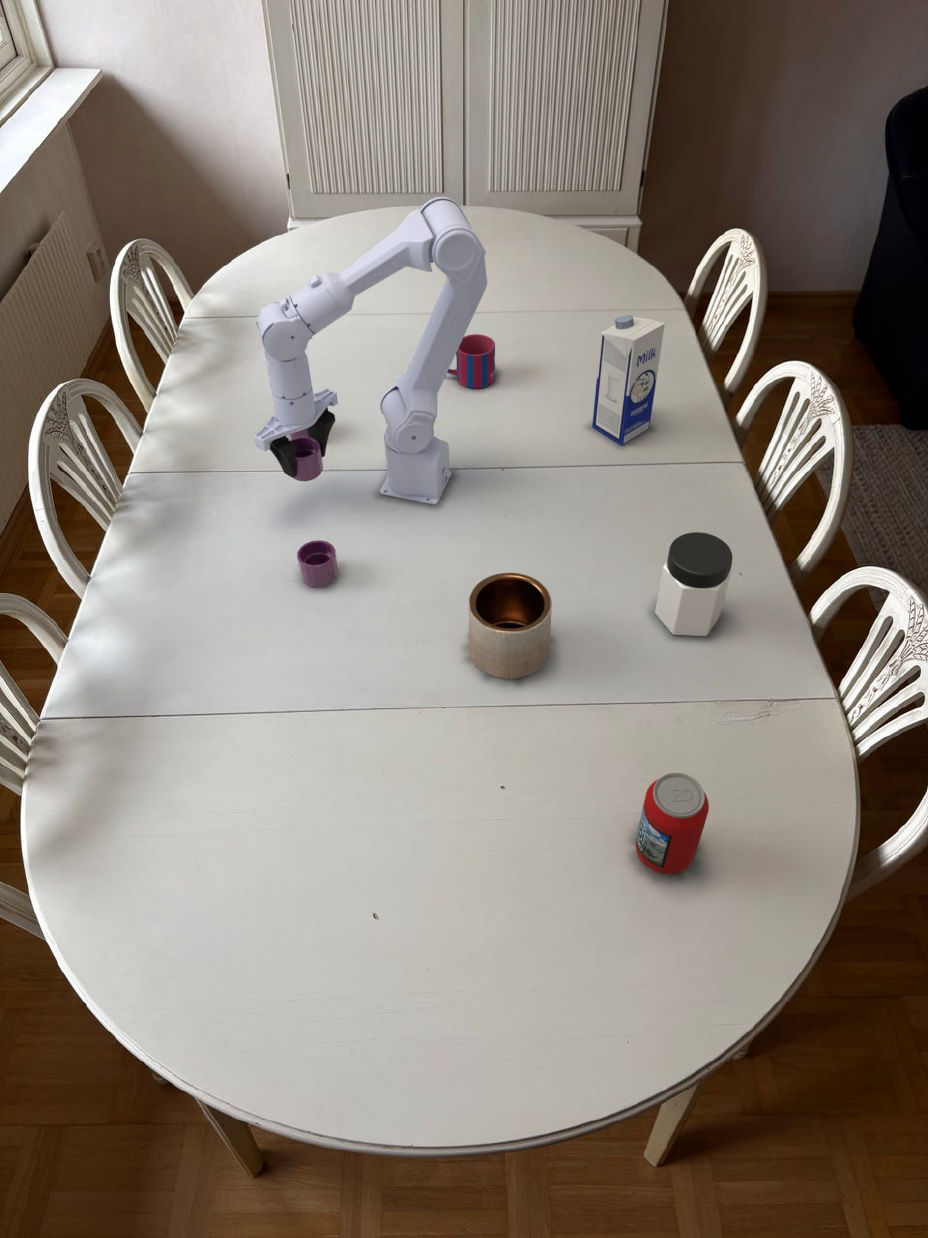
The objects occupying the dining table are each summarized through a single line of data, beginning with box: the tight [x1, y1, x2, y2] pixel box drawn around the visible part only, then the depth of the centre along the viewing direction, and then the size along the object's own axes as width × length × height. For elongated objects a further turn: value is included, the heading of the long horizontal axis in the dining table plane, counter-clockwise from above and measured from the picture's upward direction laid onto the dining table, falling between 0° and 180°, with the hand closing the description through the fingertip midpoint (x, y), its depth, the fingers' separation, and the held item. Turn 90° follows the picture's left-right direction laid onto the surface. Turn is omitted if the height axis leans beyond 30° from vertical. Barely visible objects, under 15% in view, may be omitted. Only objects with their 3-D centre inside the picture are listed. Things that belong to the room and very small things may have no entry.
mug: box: [447, 333, 496, 390], centre depth 174 cm, size 7×10×7 cm
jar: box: [654, 531, 733, 637], centre depth 134 cm, size 9×8×12 cm
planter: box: [467, 572, 553, 680], centre depth 131 cm, size 11×11×10 cm
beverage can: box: [635, 772, 710, 875], centre depth 109 cm, size 7×7×12 cm
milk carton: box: [591, 315, 666, 447], centre depth 159 cm, size 7×7×20 cm
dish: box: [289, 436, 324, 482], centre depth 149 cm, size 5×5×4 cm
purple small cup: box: [296, 539, 340, 588], centre depth 143 cm, size 5×5×4 cm
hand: (304, 463), depth 150 cm, fingers closed on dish, 5 cm apart
